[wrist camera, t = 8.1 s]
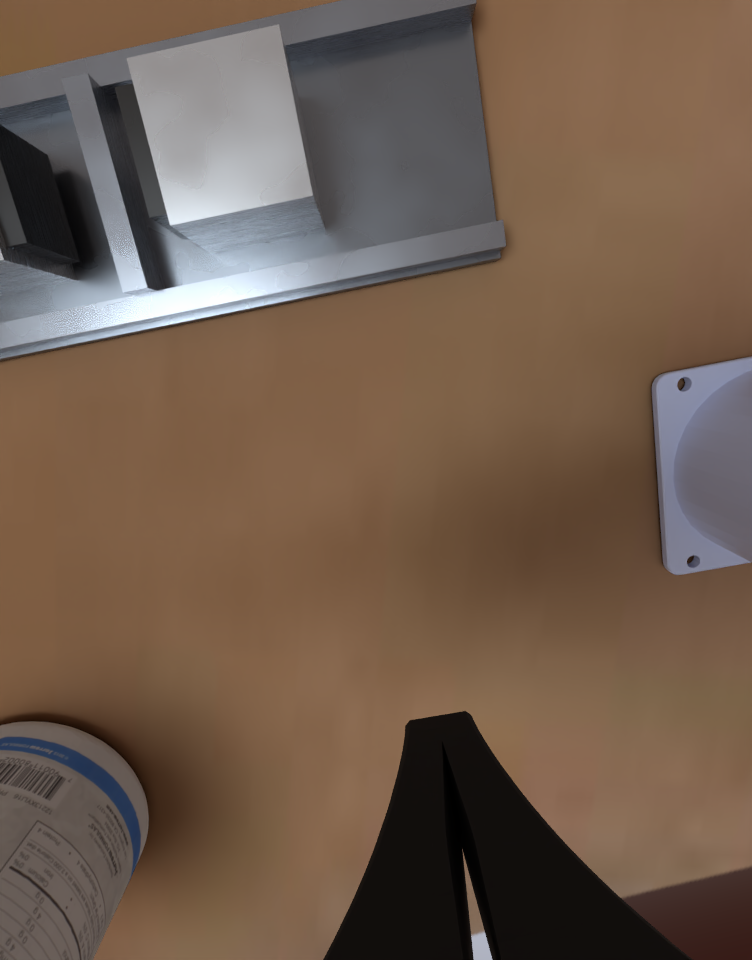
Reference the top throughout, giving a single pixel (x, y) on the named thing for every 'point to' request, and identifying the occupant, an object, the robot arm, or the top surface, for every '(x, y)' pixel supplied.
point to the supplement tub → (63, 839)
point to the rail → (265, 266)
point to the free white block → (222, 141)
